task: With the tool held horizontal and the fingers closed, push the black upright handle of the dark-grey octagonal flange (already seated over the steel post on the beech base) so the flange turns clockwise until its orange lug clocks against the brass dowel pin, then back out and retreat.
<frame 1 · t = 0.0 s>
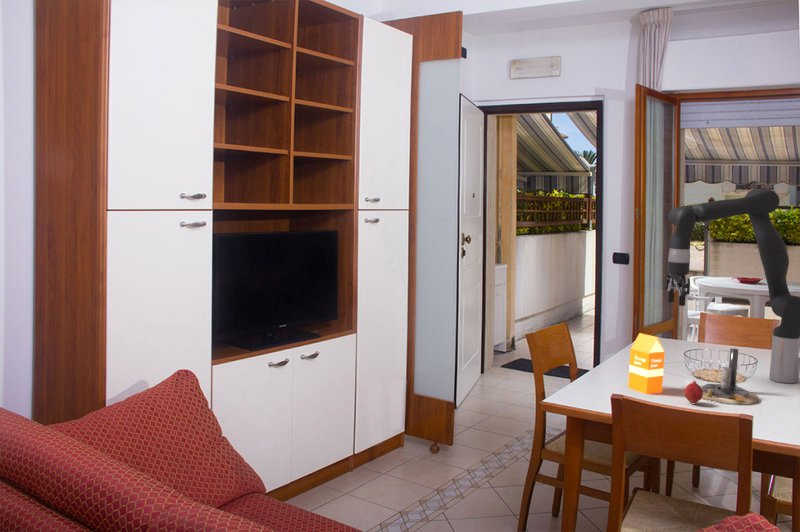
hand: (676, 303, 268), 29 cm above the table, tool pointing down, fingers open, 8 cm apart
post stand: (724, 396, 251), on the table
orange juice: (644, 390, 257), on the table
onion: (692, 404, 241), on the table
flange: (729, 373, 250), point 8 cm above the table, hinge at 0.0°
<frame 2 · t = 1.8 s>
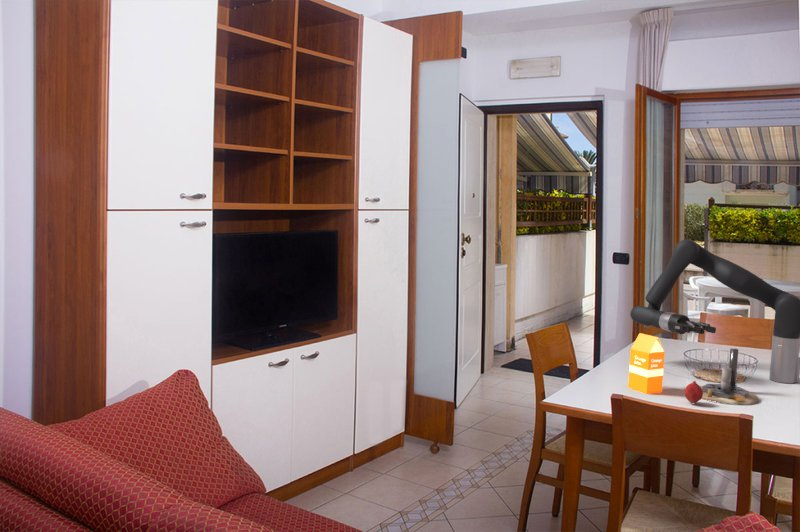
hand: (709, 330, 266), 20 cm above the table, tool horizontal, fingers open, 5 cm apart
nothing on the table moved.
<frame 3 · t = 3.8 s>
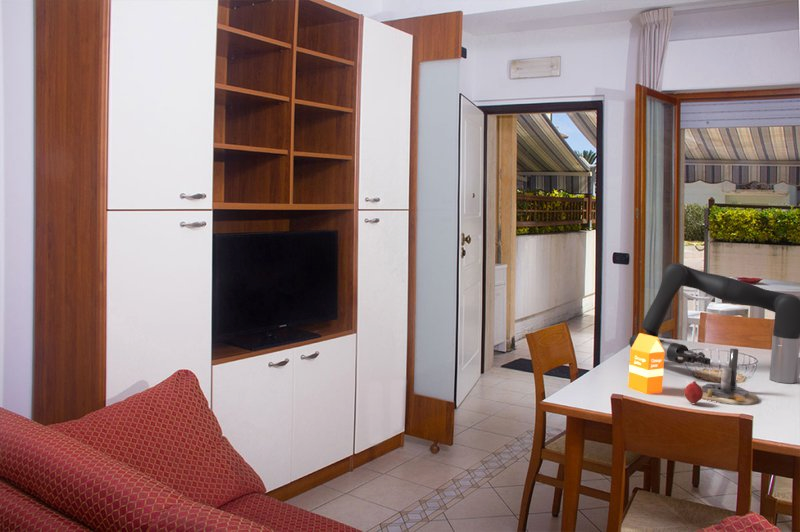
hand: (708, 361, 266), 8 cm above the table, tool horizontal, fingers closed
nothing on the table moved.
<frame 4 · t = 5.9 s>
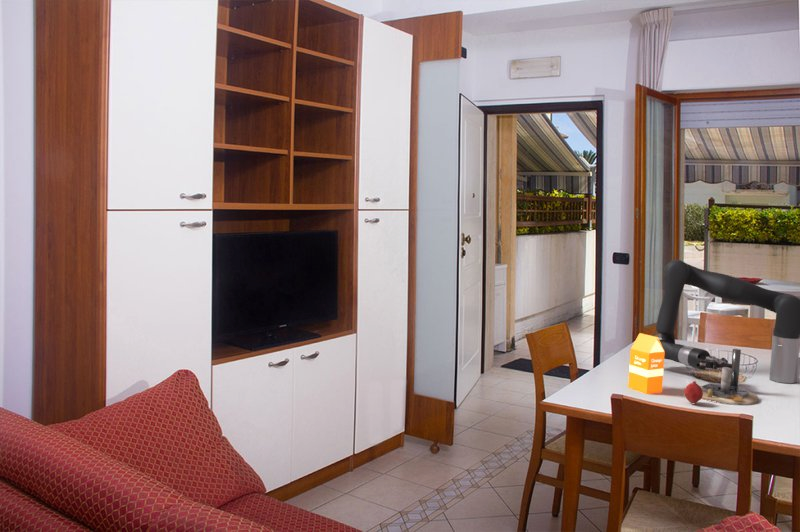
hand: (732, 367, 257), 9 cm above the table, tool horizontal, fingers closed
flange: (729, 373, 250), point 8 cm above the table, hinge at -5.9°, touching gripper
everything else where it was.
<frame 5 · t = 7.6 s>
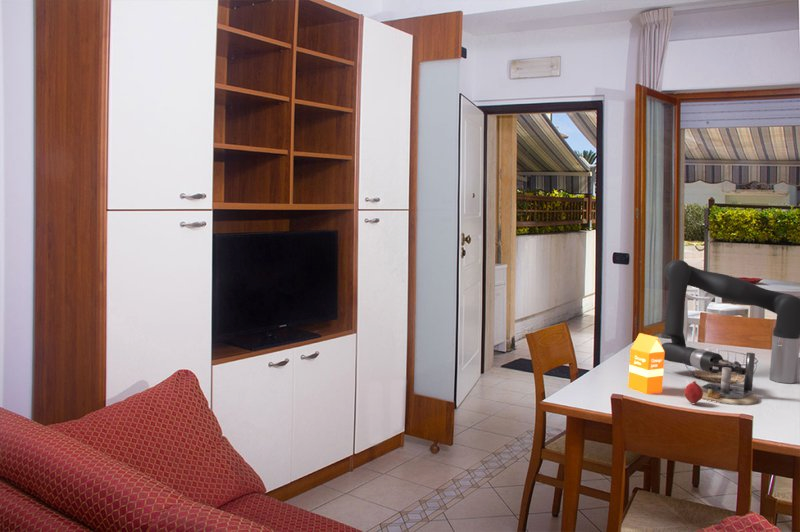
hand: (746, 372, 252), 8 cm above the table, tool horizontal, fingers closed
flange: (726, 373, 250), point 8 cm above the table, hinge at -49.8°, touching gripper, post stand
everything else where it was.
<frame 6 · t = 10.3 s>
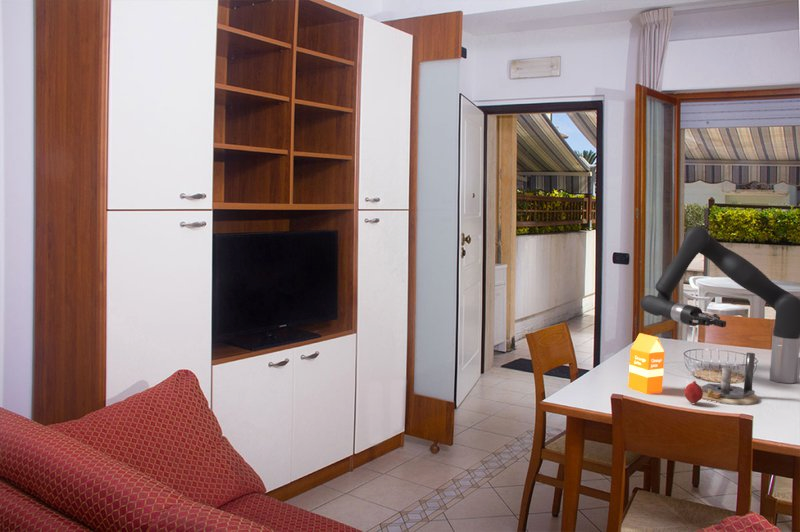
hand: (724, 324, 261), 23 cm above the table, tool horizontal, fingers closed
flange: (726, 373, 250), point 8 cm above the table, hinge at -49.8°, touching post stand
everything else where it was.
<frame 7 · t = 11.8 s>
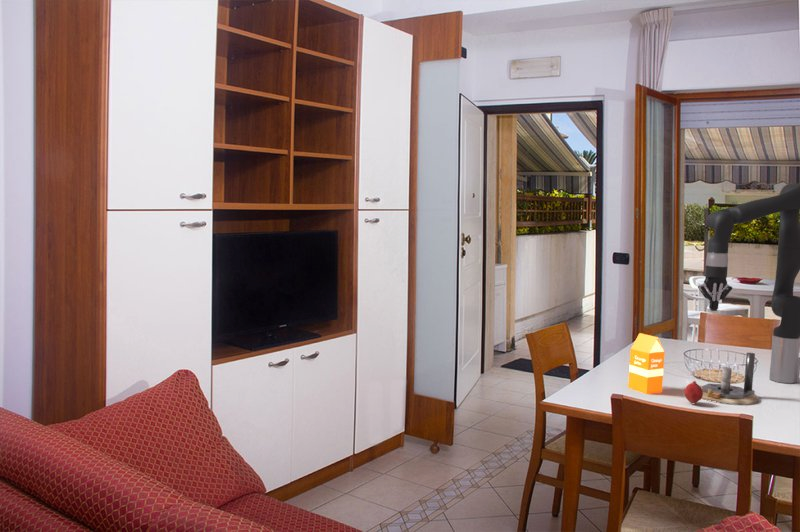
hand: (713, 310, 270), 27 cm above the table, tool pointing down, fingers closed
nothing on the table moved.
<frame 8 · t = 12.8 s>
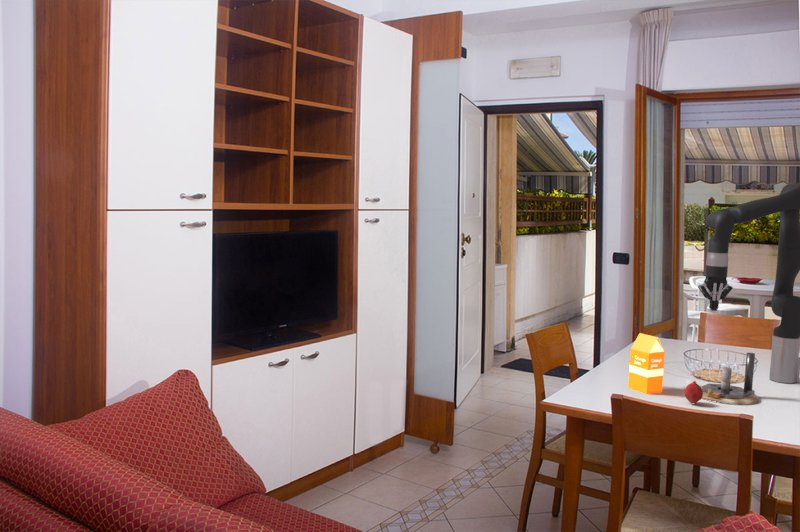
hand: (713, 310, 270), 27 cm above the table, tool pointing down, fingers closed
nothing on the table moved.
at the end: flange at -50° (first picture: +0°); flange touching post stand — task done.
